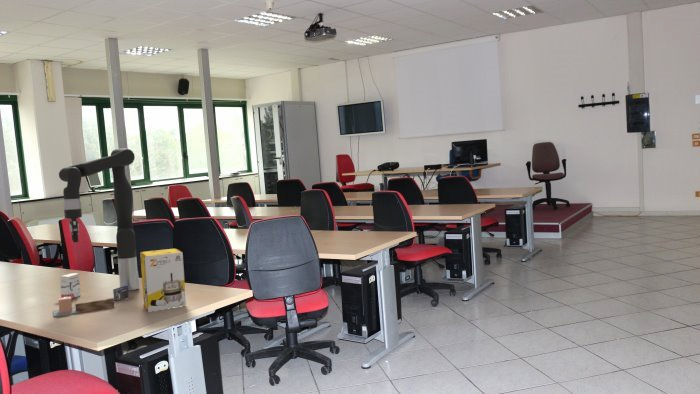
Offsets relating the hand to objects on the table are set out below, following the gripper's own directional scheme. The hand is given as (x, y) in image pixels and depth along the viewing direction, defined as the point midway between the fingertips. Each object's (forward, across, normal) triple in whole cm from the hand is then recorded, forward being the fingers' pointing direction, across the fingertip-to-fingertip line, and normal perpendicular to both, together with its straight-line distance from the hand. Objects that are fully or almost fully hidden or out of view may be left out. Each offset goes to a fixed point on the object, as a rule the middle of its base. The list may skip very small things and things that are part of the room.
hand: (75, 241), depth 272 cm
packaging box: (+30, -37, -33) cm, 58 cm away
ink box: (+30, +15, +3) cm, 34 cm away
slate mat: (+30, -19, +7) cm, 36 cm away
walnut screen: (+30, -22, -5) cm, 38 cm away
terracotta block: (+30, -19, +7) cm, 36 cm away
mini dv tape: (+30, -8, -18) cm, 36 cm away
